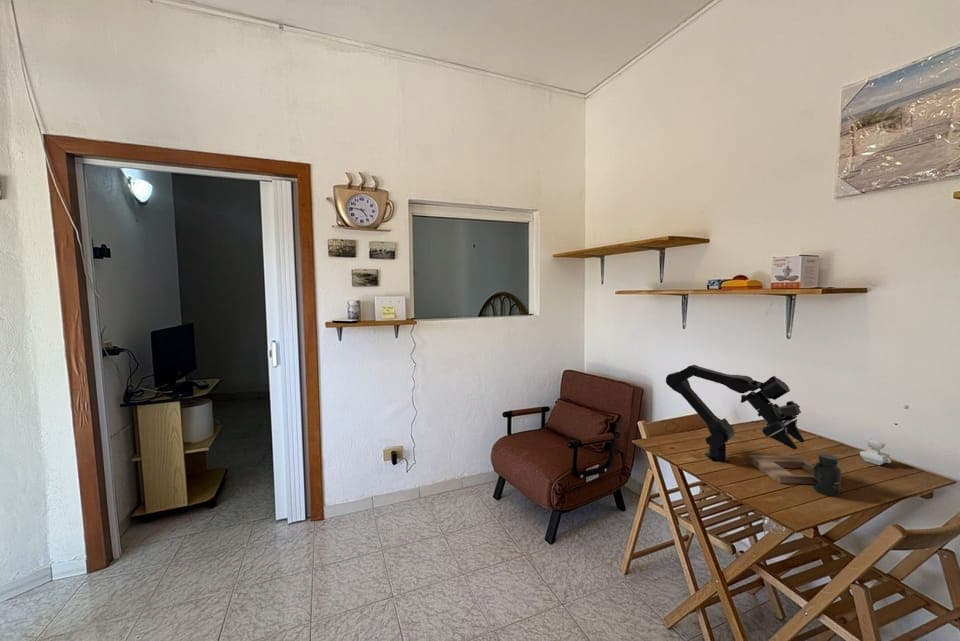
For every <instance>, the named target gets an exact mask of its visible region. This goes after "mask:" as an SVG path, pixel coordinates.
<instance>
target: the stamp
mask: <svg viewBox="0 0 960 641" xmlns="http://www.w3.org/2000/svg"><path fill="white" fill-rule="evenodd" d="M866 445H867V447H868V448H869V449H866V450H864V451H863V450H861V451H860V452H859V454H860V455H859V456H860V457H861V458H862V459H863V461H864V462H867V463H871V464H874V465H878V466H880V465H881V466H882V465H883V464H885V463H887V464H890V463H891V462H892V461H891V455H890V454H889V453H885V452H881V451H880V450H882V449H884V448H885V446H886V442H884V441H879V440H874V439H870V440H867V443H866ZM870 448H871V449H870Z"/></svg>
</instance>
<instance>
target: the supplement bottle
mask: <svg viewBox="0 0 960 641" xmlns="http://www.w3.org/2000/svg"><path fill="white" fill-rule="evenodd" d="M813 466H814V473H813V474H812V475H813V484H812V489H813V490H814V491H816V492H817V493H819V494H822V495H824V496H830V497H837V496H839V495H840V492H841V491H840V490H841V481H842V479H841V478H842V469H841V467H840V466H839V458H838V457H836V456H834V455H832V454H827V453H819V454H818V459H817V461H816V462H814V465H813Z"/></svg>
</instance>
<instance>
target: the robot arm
mask: <svg viewBox="0 0 960 641" xmlns="http://www.w3.org/2000/svg"><path fill="white" fill-rule="evenodd" d="M691 377H696V378H701V379H703V380H705V381H710V382H713V383H716V384H720V385H723V386H725V387H727V388H728V389H729V390H732V391H734V392H736V393H737V394H742V395H740V397H741V399H740V403H741V404H743V403H745V402H748V403H749V404H750V405H751V407H752V408H753V409H754V410H755V411H756V412H757V414H756V415H757V416H758V417H762V418H763V420H764V421H765V422H766V424H765V426H764V427H763V428H762V433H763V435H764V436H765V437H766V438H767V437H769V438H771V439H772V440H775V441H777V442H779V443H781V444H782V445H784V446H786V447H789V448H791V449H792V450H797V449H798V446H797V445H796V444H795V442H794V441H793V439H795V440H797V441H799V442H800V443H802V444H803V443H804V442H805V439H804V438H803V435H802V434H801V432H800V430H799V428H798V426H797V424H798V416H799V415H800V414H802V411H801V409H800V405H799V404H798V403H795V402H794V401H793V400H790V401H787V402H786V403H785V405H782V406H779V405H778V404H777V403H773V402H772V401H771V400H773V401H776V400H777V399H779V398H780V397H783V396H784V395H786V394H788V393H790V391H791V388H790V387H789V385H787V384H786V382H785V381H783V380H781V379H780V378H777V377H776V376H775V375H772V376H771V377H770V378H769V379H767V380H765V381H764V382H761V381H758V380H754V379H753V378H752V377H751V376H748V375H741V374H729V373H724V372H721V371H717V370H714V369H709V368H706V367H704V366H703V367H702V366H698V365H696V364H691V365H688V366H687V367H685V368H683V369H681V370H680V371H676V372H672V373H668V374H667V375H666V378H665V384H666V385H667V386H668V387H669V388H670V389H671V390H672V391H674V392H676V393H678V394H680V395H681V397H683V399H684V400H685V401H686V402H687V403H688V404H689V406H690V407H691V408H692V409H693V410H694V411H695V412H696V413H697V415H698V416H699V417H700V419H702V420H703V421H704V423H705V424H706V427H707V429H708V432H709V434H710V435H709V436H707V437H705V443H706V444H707V445H708V452H704V456H706V457H707V458H708V459H710V461H712V462H730V459H729V458H728V457H726V454H727V452H726V451H727V443H728V442H729V441H730V440H733V438H734V437H735V430H734V429H733V428H734V426H733V425H731V424H730V423H729V421H728V420H727V419H726V418H722V419H721V418H719V417H717V416H716V415H715V413H714V412H713V411H712V410H711V409H710V407H709V406H707V405H706V403H705V402H704V401H703V400H702V399H701V398H700V396H699V394H697V393H696V392H695V391H694V390H693V389H692V387H691V383H690V381H689V380H688V379H690V378H691ZM759 389H760V390H759ZM757 390H758V391H757ZM748 392H749V393H748ZM746 393H747V394H746ZM790 436H791V437H790ZM792 438H793V439H792Z"/></svg>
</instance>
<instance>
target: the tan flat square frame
mask: <svg viewBox="0 0 960 641" xmlns="http://www.w3.org/2000/svg"><path fill="white" fill-rule="evenodd" d="M747 462H748V463H750V464H752V466H754V467H756V468H757V469H758V470H760V471H761V472H762V473H764V474H765V475H767V476H768V477H770V478H771V479H773V480H774V481H775V482H777V483H778V484H795V485H796V484H797V485H798V484H801V485H803V484H806V485H808V484H809V485H810V484H812V485H813V473H814V465H813V464H811V463H810V462H808V461H806V460H805V459H803V458H801V457H799V456H798V455H761V454H760V455H753V454H751V455H748V459H747ZM787 468H789V469H790V468H791V469H797V468H798V469H803V470H804V471H805V472H808V473H810V474H812V475H806V474H805V475H803V474H802V475H801V474H793V473H792V472H790V471H788V470H787Z"/></svg>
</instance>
